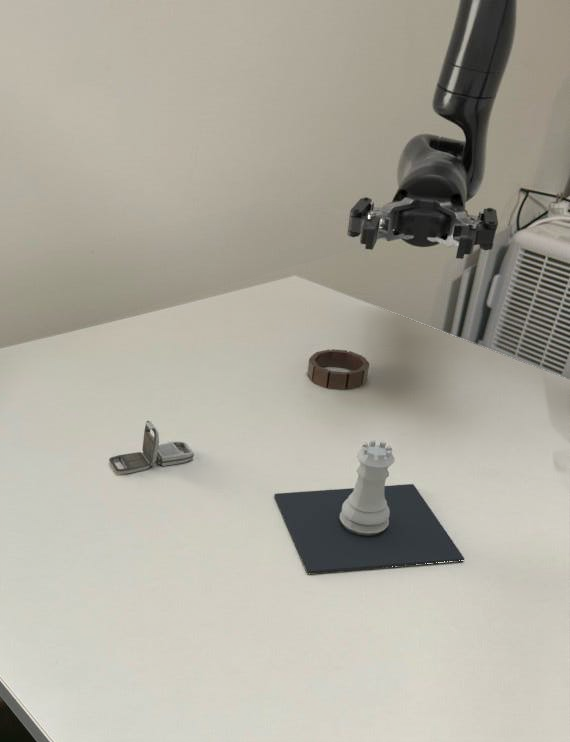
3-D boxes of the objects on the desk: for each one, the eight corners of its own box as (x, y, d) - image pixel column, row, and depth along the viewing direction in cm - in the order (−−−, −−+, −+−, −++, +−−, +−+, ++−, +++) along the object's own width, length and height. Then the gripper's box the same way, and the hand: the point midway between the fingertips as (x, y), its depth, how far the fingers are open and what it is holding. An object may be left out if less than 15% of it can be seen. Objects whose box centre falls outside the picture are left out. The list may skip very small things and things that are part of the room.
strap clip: (184, 447, 87) (185, 411, 85) (195, 461, 85) (196, 424, 82) (107, 461, 85) (106, 425, 82) (116, 476, 83) (115, 439, 80)
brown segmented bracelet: (355, 362, 104) (357, 347, 103) (374, 388, 99) (376, 372, 97) (301, 365, 104) (303, 350, 102) (317, 391, 98) (319, 375, 97)
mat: (412, 487, 81) (413, 483, 81) (463, 562, 72) (464, 558, 72) (274, 496, 80) (274, 493, 80) (307, 574, 70) (308, 571, 70)
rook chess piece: (368, 544, 73) (383, 467, 68) (328, 522, 76) (340, 446, 71) (398, 524, 76) (414, 448, 71) (358, 503, 78) (371, 429, 73)
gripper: (369, 159, 90) (345, 195, 78) (506, 169, 87) (503, 209, 74) (359, 230, 95) (335, 274, 83) (489, 242, 91) (484, 291, 79)
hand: (415, 243), depth 78 cm, fingers open, 8 cm apart
